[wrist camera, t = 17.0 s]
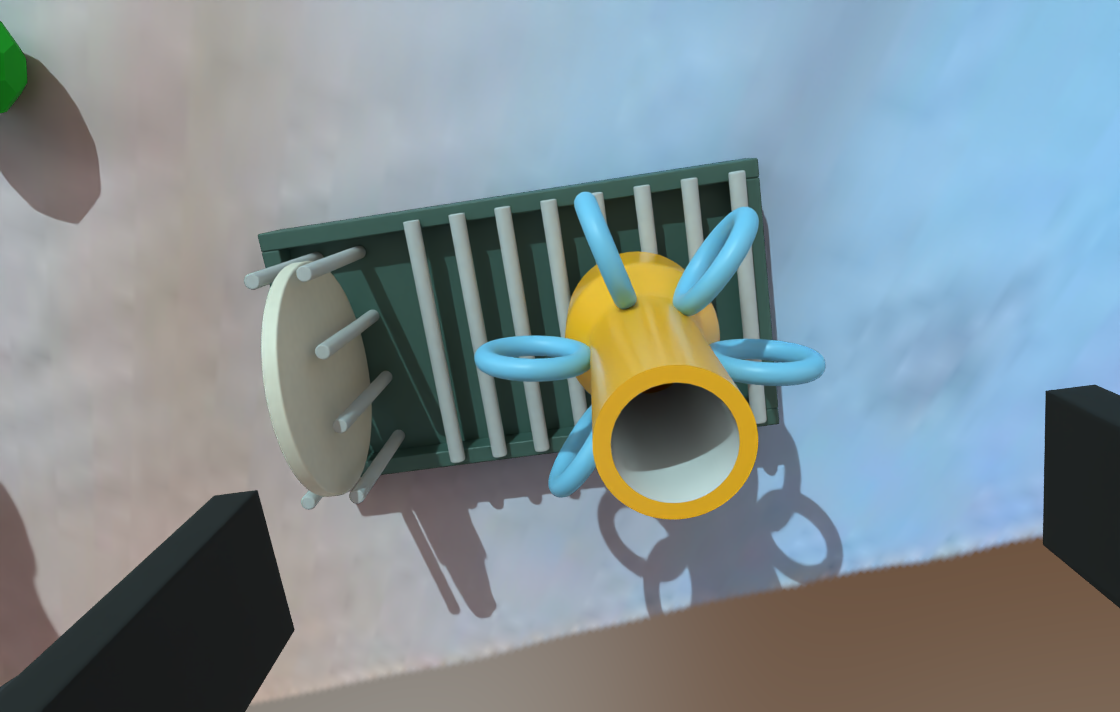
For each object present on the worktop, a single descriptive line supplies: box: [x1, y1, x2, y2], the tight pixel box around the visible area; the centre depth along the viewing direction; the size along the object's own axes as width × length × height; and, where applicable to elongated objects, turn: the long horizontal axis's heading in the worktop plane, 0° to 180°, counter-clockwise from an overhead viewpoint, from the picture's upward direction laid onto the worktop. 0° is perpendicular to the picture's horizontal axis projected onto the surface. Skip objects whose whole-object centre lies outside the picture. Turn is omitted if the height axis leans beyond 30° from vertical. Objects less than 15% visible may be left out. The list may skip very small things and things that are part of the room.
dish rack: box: [244, 158, 779, 510], centre depth 31 cm, size 22×12×11 cm, turn 99°
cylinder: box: [474, 192, 825, 519], centre depth 25 cm, size 12×10×15 cm
